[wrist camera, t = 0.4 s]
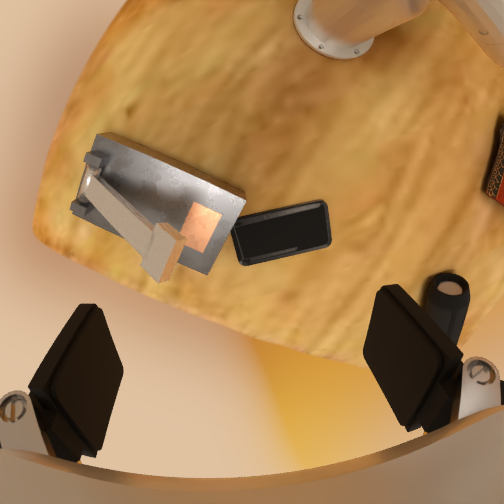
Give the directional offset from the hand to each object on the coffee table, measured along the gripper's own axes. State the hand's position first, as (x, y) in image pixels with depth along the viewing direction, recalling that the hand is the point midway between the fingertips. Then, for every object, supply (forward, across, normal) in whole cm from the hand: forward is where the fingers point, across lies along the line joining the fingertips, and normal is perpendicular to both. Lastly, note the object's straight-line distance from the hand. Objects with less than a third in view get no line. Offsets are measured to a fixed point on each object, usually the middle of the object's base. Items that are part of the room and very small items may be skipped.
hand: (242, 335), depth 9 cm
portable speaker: (+34, -44, +31) cm, 63 cm away
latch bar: (+24, +12, +1) cm, 27 cm away
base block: (+34, +10, +2) cm, 36 cm away
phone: (+34, -8, +9) cm, 36 cm away
